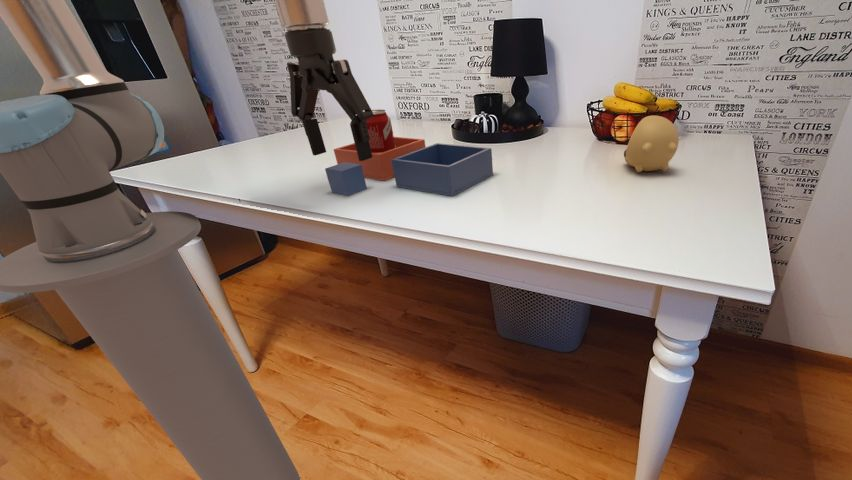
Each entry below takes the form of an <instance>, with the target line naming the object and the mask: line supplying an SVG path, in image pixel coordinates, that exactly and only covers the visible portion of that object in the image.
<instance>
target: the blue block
mask: <svg viewBox="0 0 852 480" xmlns="http://www.w3.org/2000/svg"><path fill="white" fill-rule="evenodd" d="M324 171H325V173H326V177H327V182H328V184H329V187H330V188H329V189H330V192H331V193H332V194H336V195H341V196H346V197H350V196H352V195H355V194H357V193H359V192H362V191H364V190H366V189H368V187H367V183H366V178H364V173H363V169H362V165H361V164H355V163H347V162H344V163H341V164H335V165H332V166H328V167H326V168H324Z"/></svg>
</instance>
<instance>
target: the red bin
mask: <svg viewBox="0 0 852 480" xmlns="http://www.w3.org/2000/svg"><path fill="white" fill-rule="evenodd" d="M394 141H395V146H396V148H394V149H391V150H388V151H386V152H383V153H380V154H378V153H372V158H370V159H367V160H364V161H359V158H358V154H357V150H356V146H355V142H353V143H350V144H347V145H343V146H340V147H336V148H333V152H334V156H335V160H336V165H338V164H341V163H344V162H347V163H355V164H361V165H362V169H363V173H364V178H365V179H371V180H377V181H383V182H385V181H387V180H388V181H389V180H390V179H392V178H395V176H394V171H393V166H392V161H391V160H392V159H395V158H397V157H400V156H403V155H406V154H408V153H411V152H414V151H417V150H419V149H422V148H425V147H426V141H425V139H424V138H413V137H403V136H394Z"/></svg>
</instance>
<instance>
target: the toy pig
mask: <svg viewBox="0 0 852 480" xmlns="http://www.w3.org/2000/svg"><path fill="white" fill-rule="evenodd" d="M678 132H679V131H678V129H677V127H676V126H675V125H674V123H673V122H672V121H671V120H670V119H668V118H666V117H664V116H660V115H648V116H645V117H643V118H641V120H640V121H639V122H638V124H637V125H636V127H635V128H634V130H633V132H632V133H631V136H630V138H629V141H628V142H627V146H626V149H625V150H624V152H623V157H624V158H623V159H624V161H625V163H626V164H627V165H629V166H631V167H634V168H635V171H636V172H637V173H641V172H654V171H657V170H661V171H662V172H665V171H667V170H668V169H669V163H670V162H671V160H672V159H673V158H674V156H675V155H676V152H677V150H678V148H679V141H680V140H679V133H678Z"/></svg>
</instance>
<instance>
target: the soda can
mask: <svg viewBox="0 0 852 480" xmlns="http://www.w3.org/2000/svg"><path fill="white" fill-rule="evenodd" d="M371 110H372V112H373V115H374V116H373V117H372V118H370V119H368V120H367V121H366V124H367V128H368V133H369V137H370V140H369V144H370V148H371V152H372V153H378V154H380V153H383V152H386V151H388V150H391V149H394V148H396V146H395V141H394V137H395V136H394V131H393V126H392V125H393V124H392V119H391V117H390V116H389V115H388V114H387V110H386V109H371ZM363 112H365V111H364V110H363Z"/></svg>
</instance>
